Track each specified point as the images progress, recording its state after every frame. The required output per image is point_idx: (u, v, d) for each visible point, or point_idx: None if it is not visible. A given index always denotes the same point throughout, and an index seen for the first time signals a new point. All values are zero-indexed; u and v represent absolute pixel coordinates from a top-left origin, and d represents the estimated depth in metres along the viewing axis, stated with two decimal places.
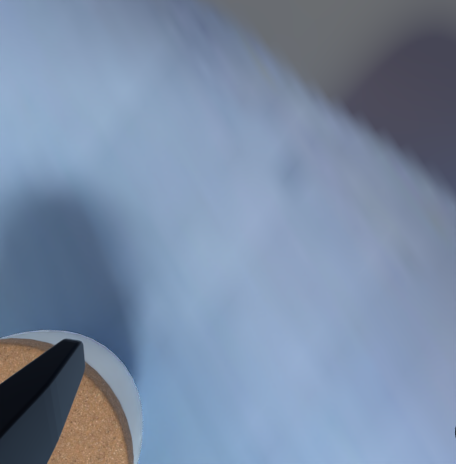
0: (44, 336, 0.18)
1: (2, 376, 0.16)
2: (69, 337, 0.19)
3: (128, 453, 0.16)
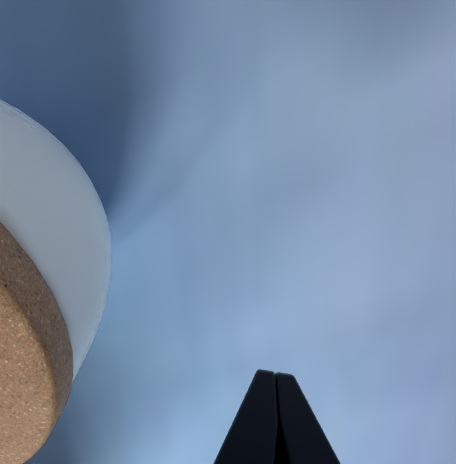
0: None
1: None
2: None
3: (57, 409, 0.09)
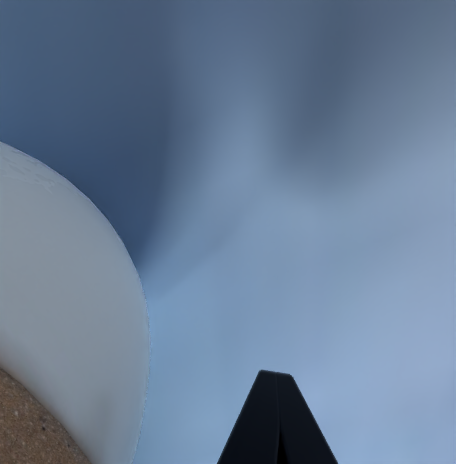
0: None
1: None
2: (7, 224, 0.06)
3: None
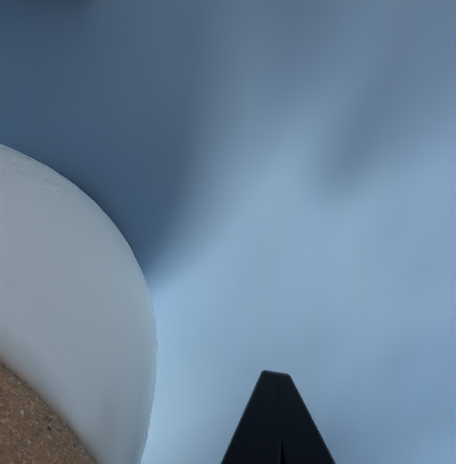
0: None
1: None
2: (14, 227, 0.06)
3: None
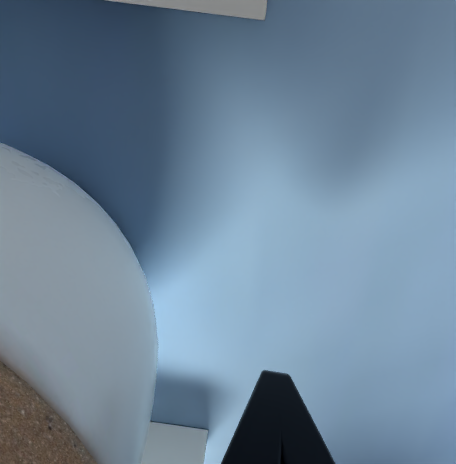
0: None
1: None
2: (15, 226, 0.06)
3: None
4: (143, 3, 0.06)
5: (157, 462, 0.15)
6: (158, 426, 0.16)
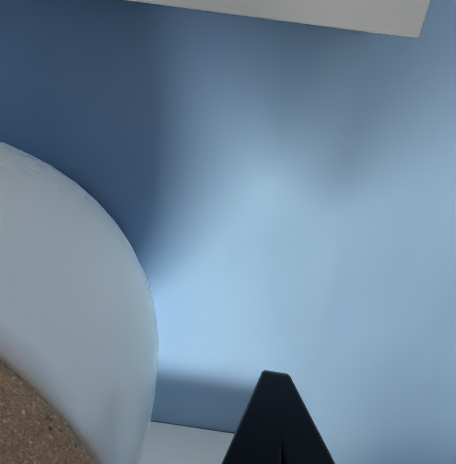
0: None
1: None
2: (16, 226, 0.06)
3: None
4: (294, 20, 0.06)
5: None
6: (214, 434, 0.16)
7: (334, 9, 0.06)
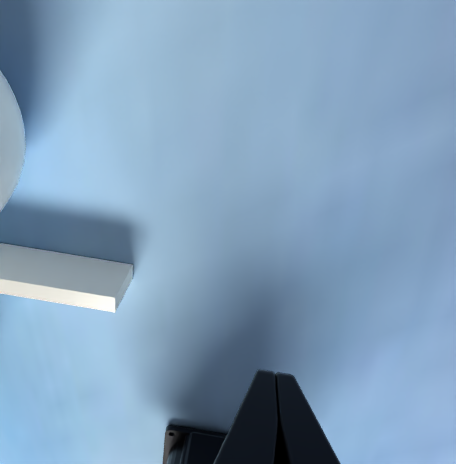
0: None
1: None
2: None
3: None
4: None
5: (92, 276, 0.21)
6: (97, 260, 0.22)
7: None
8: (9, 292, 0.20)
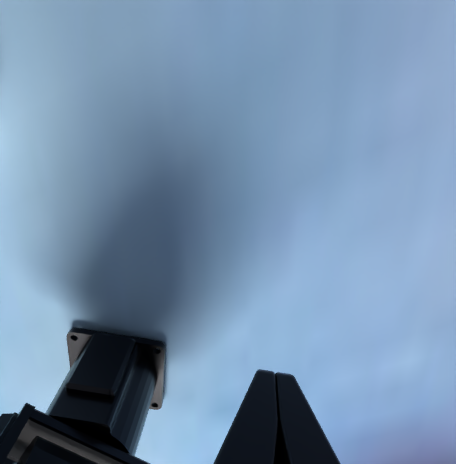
0: None
1: None
2: None
3: None
4: None
5: None
6: None
7: None
8: None
